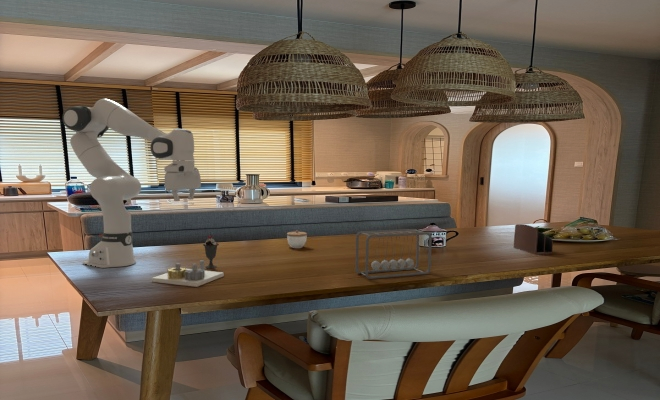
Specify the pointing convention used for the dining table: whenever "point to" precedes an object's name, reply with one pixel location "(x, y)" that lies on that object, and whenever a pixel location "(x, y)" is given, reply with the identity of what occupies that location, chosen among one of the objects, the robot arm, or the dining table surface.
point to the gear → (176, 273)
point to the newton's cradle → (394, 263)
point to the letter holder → (532, 240)
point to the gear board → (190, 276)
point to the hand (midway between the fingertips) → (184, 200)
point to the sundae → (210, 250)
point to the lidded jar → (296, 239)
